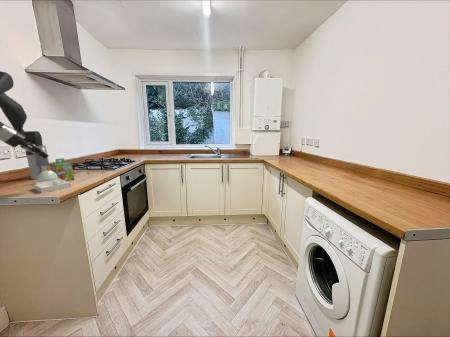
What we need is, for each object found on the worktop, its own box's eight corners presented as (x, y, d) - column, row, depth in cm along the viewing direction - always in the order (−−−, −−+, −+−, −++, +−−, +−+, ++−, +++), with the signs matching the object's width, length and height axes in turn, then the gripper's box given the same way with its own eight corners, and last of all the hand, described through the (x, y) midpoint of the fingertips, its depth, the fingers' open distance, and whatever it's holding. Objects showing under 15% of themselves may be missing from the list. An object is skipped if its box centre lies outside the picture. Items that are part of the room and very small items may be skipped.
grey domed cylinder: (35, 166, 107) (30, 146, 105) (47, 164, 112) (43, 145, 110) (37, 166, 104) (33, 146, 102) (50, 165, 109) (46, 145, 107)
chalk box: (58, 182, 125) (53, 160, 122) (53, 181, 130) (48, 159, 127) (75, 179, 133) (71, 158, 130) (69, 178, 138) (66, 157, 135)
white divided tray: (34, 189, 112) (30, 172, 110) (62, 183, 123) (59, 168, 121) (42, 193, 104) (38, 175, 102) (71, 187, 115) (68, 170, 113)
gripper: (19, 130, 95) (55, 152, 106) (13, 130, 103) (47, 151, 114) (5, 141, 91) (44, 163, 103) (0, 141, 99) (36, 161, 111)
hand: (45, 156), depth 109 cm, fingers closed on grey domed cylinder, 5 cm apart
